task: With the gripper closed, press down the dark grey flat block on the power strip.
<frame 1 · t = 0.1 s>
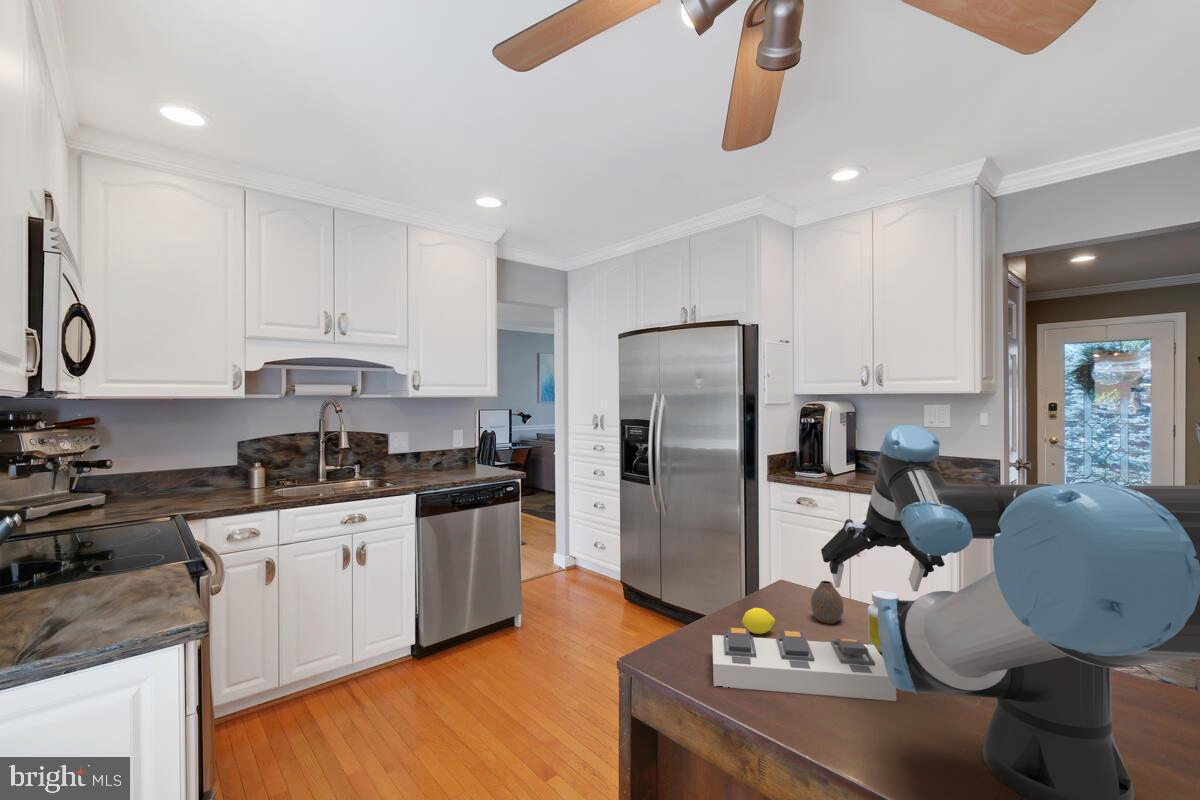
hand: (873, 583, 102), 15 cm above the worktop, tool tilted 35°, fingers open, 13 cm apart
vase: (827, 621, 122), on the worktop
dark grey flat block 2: (794, 642, 99), point 5 cm above the worktop, hinge at -10.0°
rocker 1: (851, 646, 97), point 5 cm above the worktop, hinge at 10.0°
rocker 3: (739, 639, 101), point 5 cm above the worktop, hinge at -10.0°
pill bottle: (886, 654, 106), on the worktop
power strip: (796, 675, 98), on the worktop
lemon: (758, 633, 116), on the worktop
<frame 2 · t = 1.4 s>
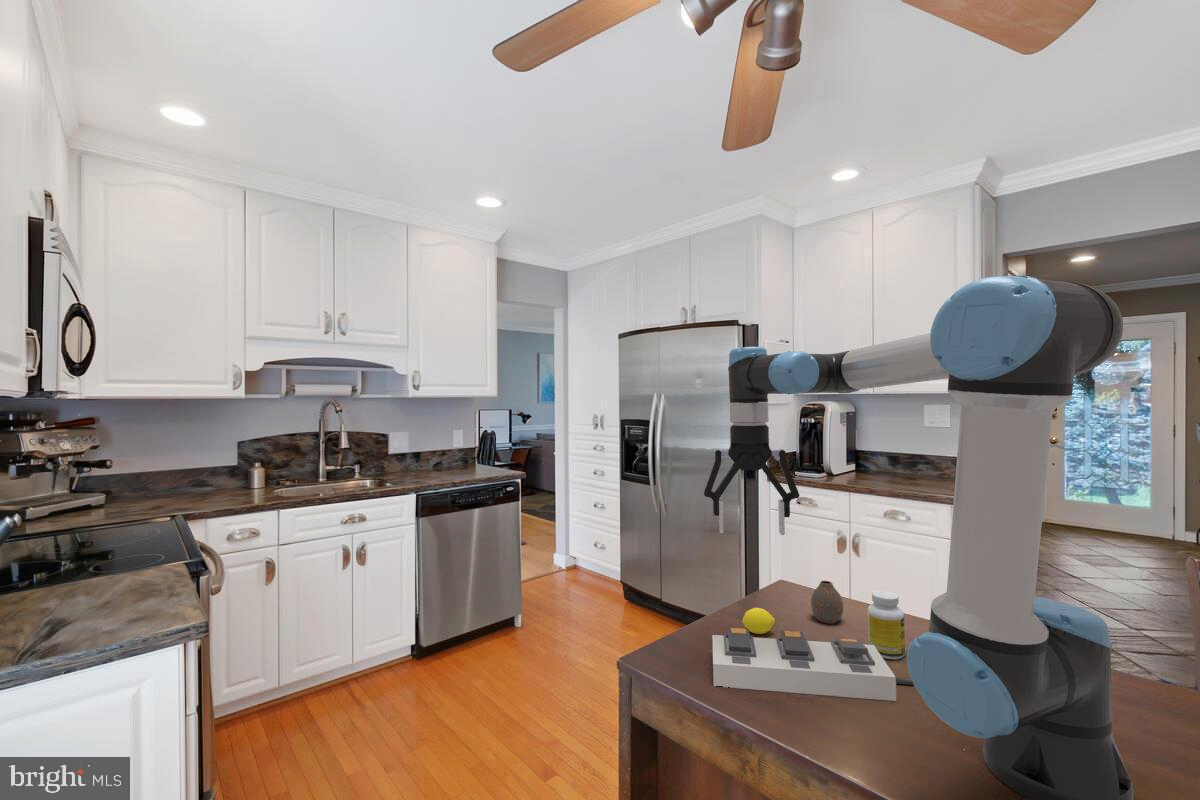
hand: (751, 532, 107), 24 cm above the worktop, tool pointing down, fingers open, 11 cm apart
nothing on the worktop moved.
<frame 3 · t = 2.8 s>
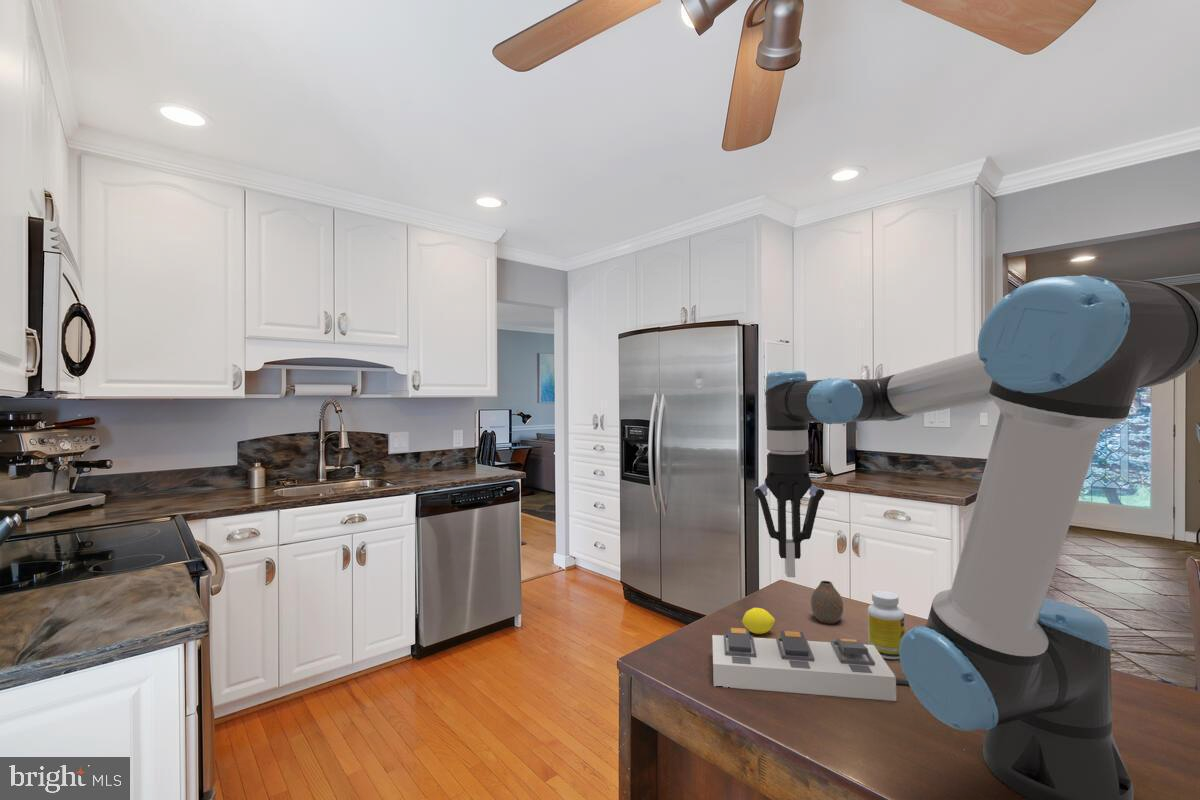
hand: (790, 574, 102), 17 cm above the worktop, tool pointing down, fingers closed
nothing on the worktop moved.
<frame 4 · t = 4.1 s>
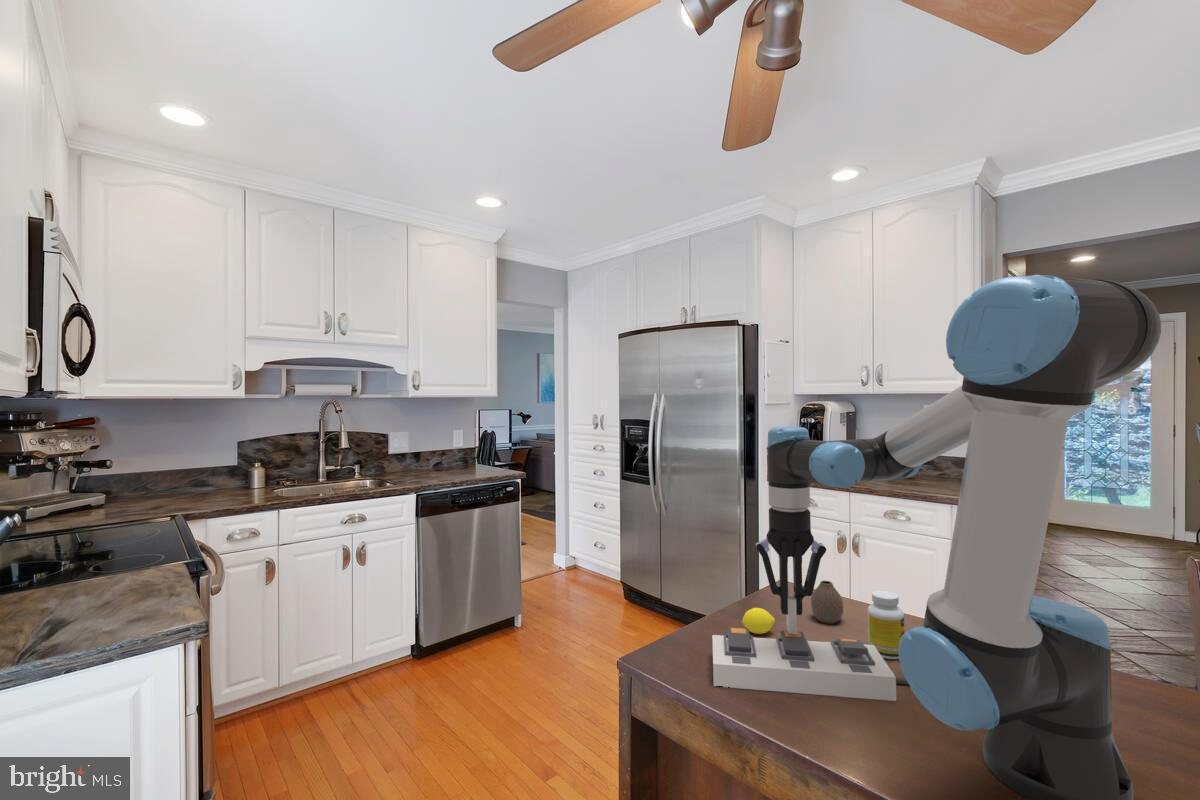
hand: (791, 630, 102), 7 cm above the worktop, tool pointing down, fingers closed
dark grey flat block 2: (794, 642, 99), point 5 cm above the worktop, hinge at -10.0°, touching gripper
everything else where it was.
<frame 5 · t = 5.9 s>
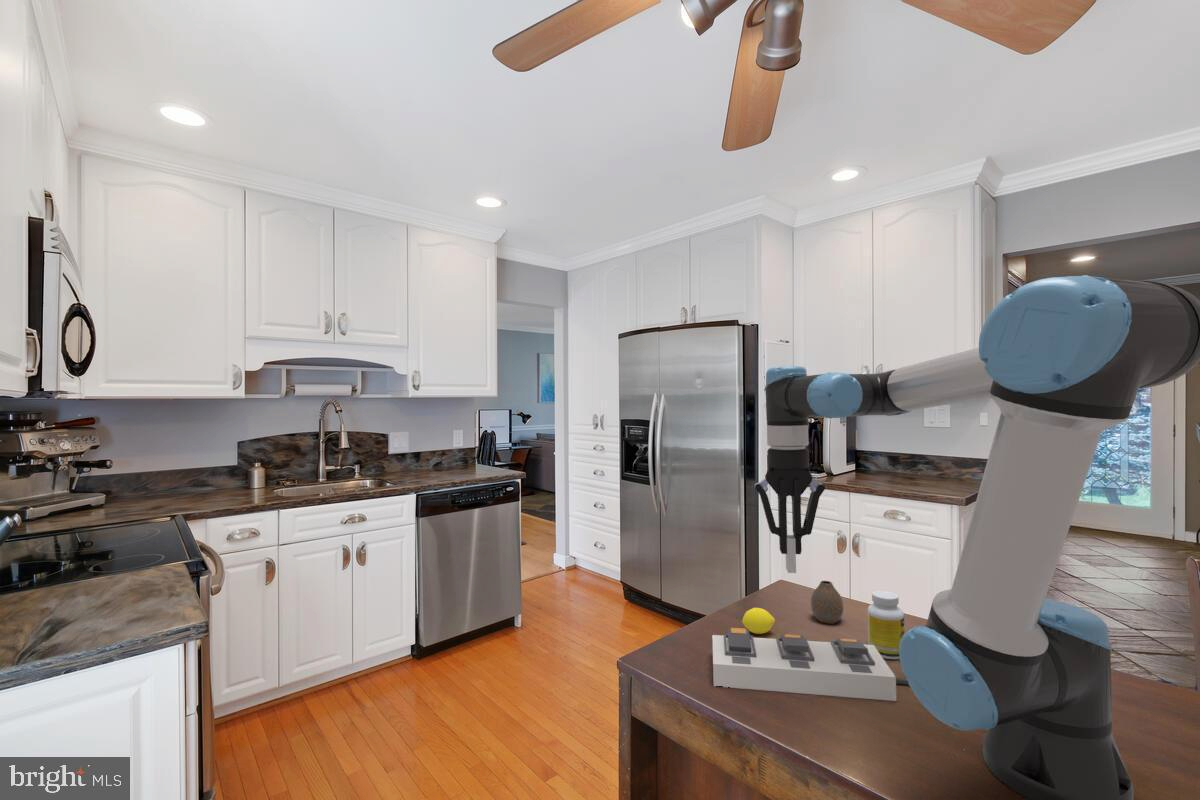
hand: (790, 570, 102), 18 cm above the worktop, tool pointing down, fingers closed
dark grey flat block 2: (794, 642, 99), point 5 cm above the worktop, hinge at 5.5°
everything else where it was.
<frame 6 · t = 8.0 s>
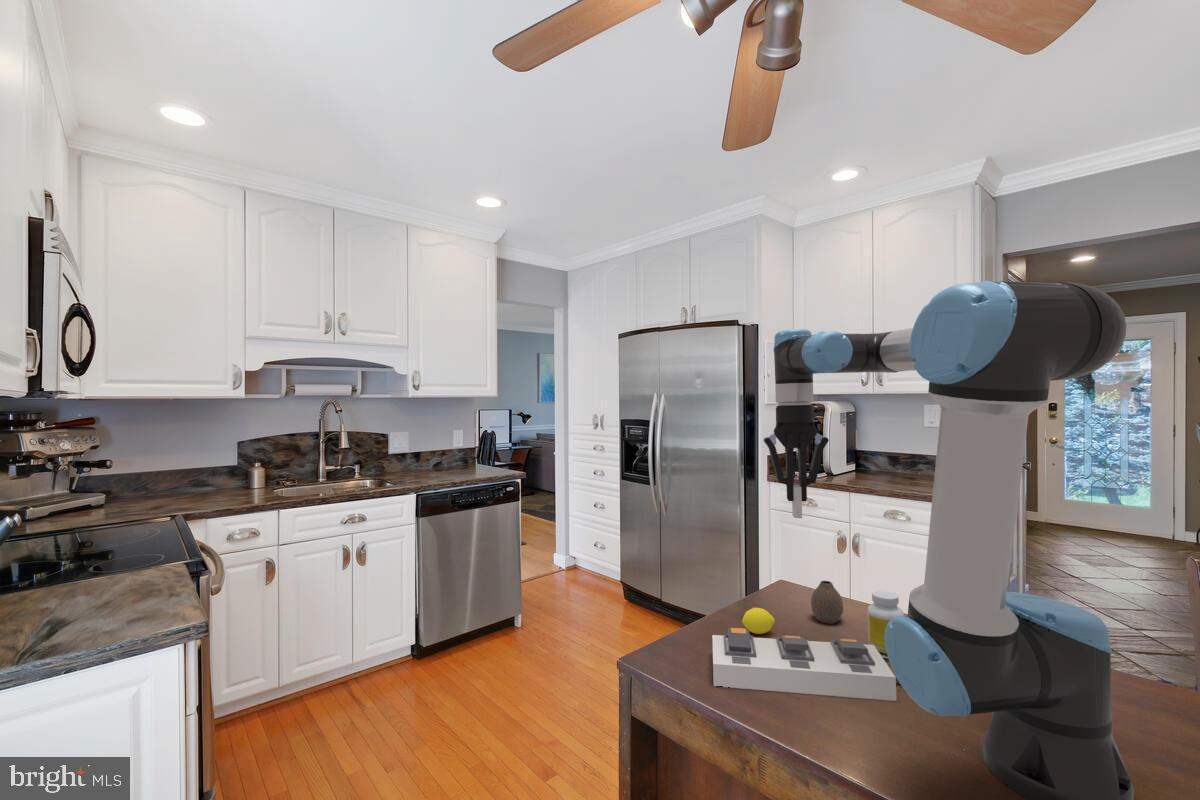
hand: (797, 516, 111), 26 cm above the worktop, tool pointing down, fingers closed
dark grey flat block 2: (794, 642, 99), point 5 cm above the worktop, hinge at 10.6°
everything else where it was.
at the end: dark grey flat block 2 at +11° (first picture: -10°); rocker 1 at +10° (first picture: +10°); rocker 3 at -10° (first picture: -10°) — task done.
